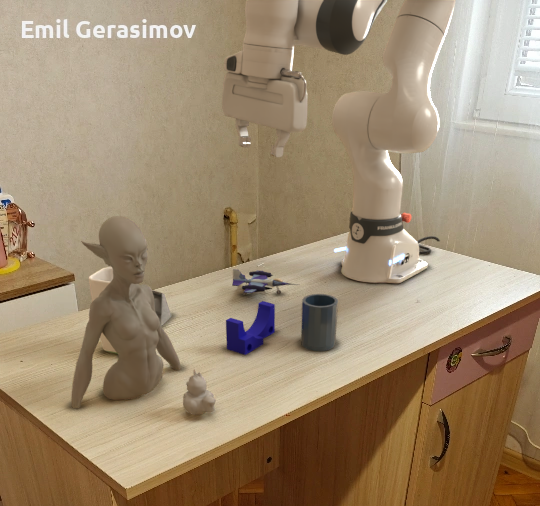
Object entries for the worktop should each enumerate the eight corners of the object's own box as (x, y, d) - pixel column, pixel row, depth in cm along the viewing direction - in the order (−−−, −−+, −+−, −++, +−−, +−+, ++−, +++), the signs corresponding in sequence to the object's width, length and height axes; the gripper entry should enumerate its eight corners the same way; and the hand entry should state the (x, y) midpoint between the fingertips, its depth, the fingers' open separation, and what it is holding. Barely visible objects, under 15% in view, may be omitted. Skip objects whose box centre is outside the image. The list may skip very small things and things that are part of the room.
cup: (129, 359, 137) (120, 283, 128) (95, 353, 139) (84, 278, 130) (147, 344, 142) (139, 270, 134) (115, 339, 144) (105, 265, 136)
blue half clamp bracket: (245, 355, 138) (244, 325, 135) (226, 349, 141) (225, 320, 137) (280, 334, 146) (281, 306, 143) (262, 328, 149) (262, 301, 145)
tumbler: (318, 333, 147) (320, 291, 142) (342, 344, 143) (345, 301, 137) (293, 342, 143) (294, 299, 138) (317, 354, 139) (319, 310, 134)
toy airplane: (303, 296, 163) (303, 280, 161) (249, 308, 158) (249, 292, 155) (273, 278, 172) (273, 263, 170) (221, 289, 167) (221, 274, 165)
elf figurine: (97, 425, 117) (68, 239, 100) (67, 403, 123) (34, 224, 105) (205, 381, 130) (196, 209, 112) (173, 363, 135) (160, 197, 118)
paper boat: (188, 312, 152) (160, 315, 145) (173, 334, 156) (144, 337, 148) (155, 271, 154) (125, 272, 147) (141, 293, 158) (111, 295, 151)
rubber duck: (198, 400, 124) (195, 358, 119) (226, 413, 120) (224, 370, 116) (175, 413, 120) (171, 369, 116) (203, 426, 117) (200, 382, 112)
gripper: (320, 73, 121) (310, 162, 128) (245, 60, 133) (240, 141, 141) (292, 71, 117) (283, 163, 124) (218, 58, 130) (214, 142, 137)
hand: (260, 151), depth 133 cm, fingers open, 8 cm apart
